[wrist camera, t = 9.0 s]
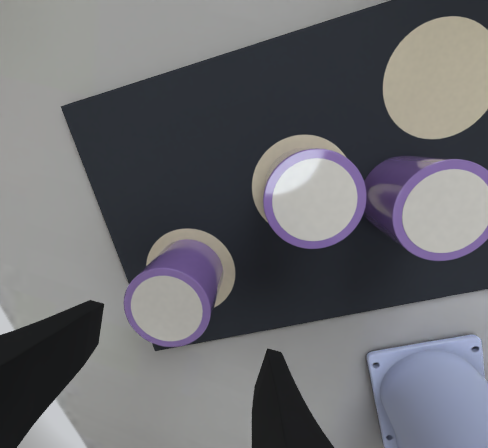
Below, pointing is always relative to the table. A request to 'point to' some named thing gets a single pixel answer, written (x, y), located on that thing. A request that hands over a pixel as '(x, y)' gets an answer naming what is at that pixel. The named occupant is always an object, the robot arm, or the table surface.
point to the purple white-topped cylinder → (313, 197)
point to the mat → (285, 139)
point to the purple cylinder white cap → (429, 205)
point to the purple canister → (175, 294)
